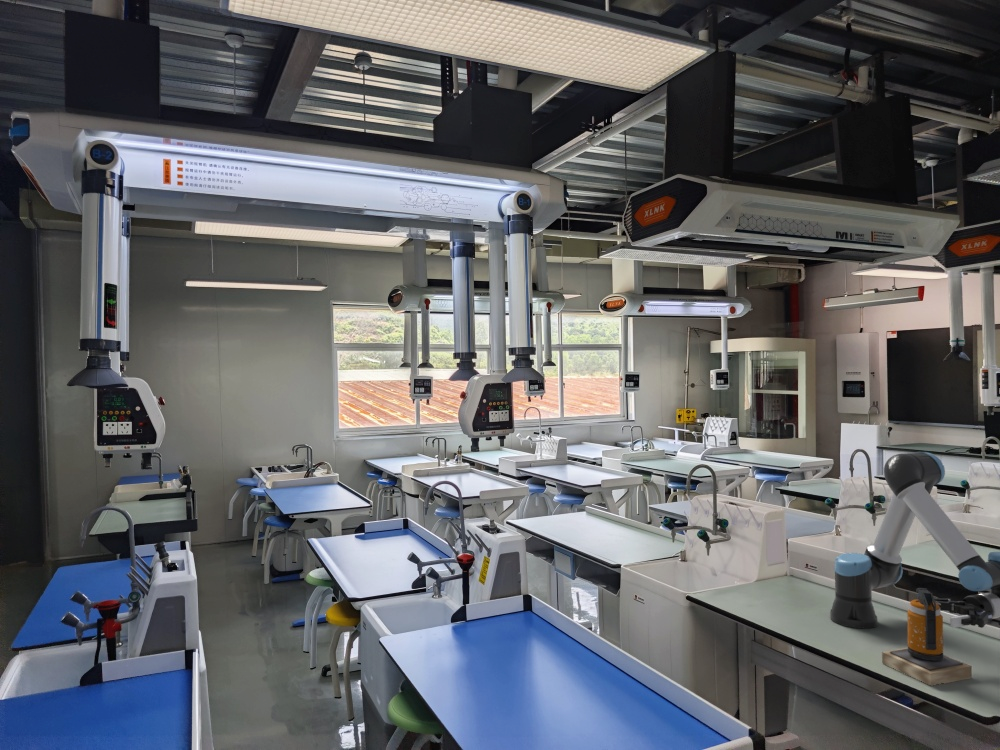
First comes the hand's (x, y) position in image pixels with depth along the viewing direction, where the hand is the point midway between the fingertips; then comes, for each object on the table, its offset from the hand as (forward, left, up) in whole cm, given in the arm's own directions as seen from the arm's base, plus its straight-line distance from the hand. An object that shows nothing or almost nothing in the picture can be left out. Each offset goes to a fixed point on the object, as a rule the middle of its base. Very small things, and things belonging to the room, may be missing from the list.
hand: (929, 614), depth 199 cm
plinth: (0, -2, -17) cm, 17 cm away
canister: (0, -2, -13) cm, 13 cm away
